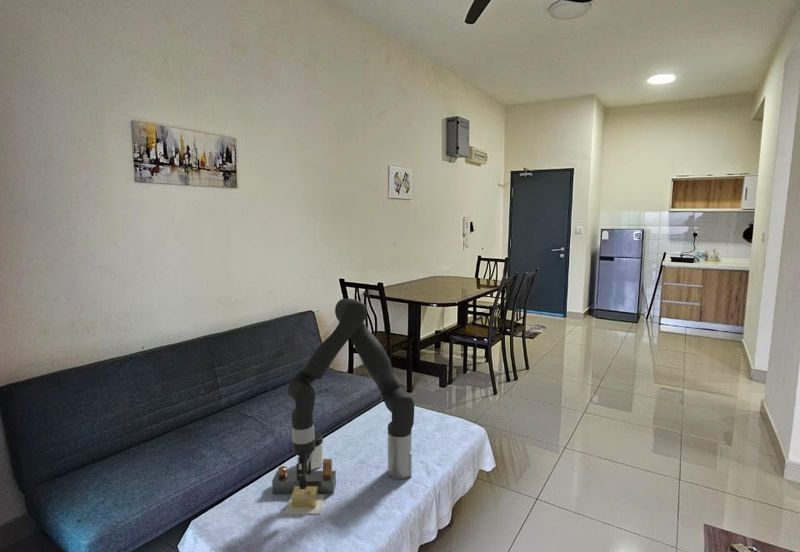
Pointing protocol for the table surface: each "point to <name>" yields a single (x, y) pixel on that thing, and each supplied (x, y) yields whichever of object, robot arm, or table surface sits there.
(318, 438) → the jar
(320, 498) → the felt mat
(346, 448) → the table surface
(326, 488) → the body
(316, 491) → the lever cap
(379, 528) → the table surface
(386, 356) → the robot arm
